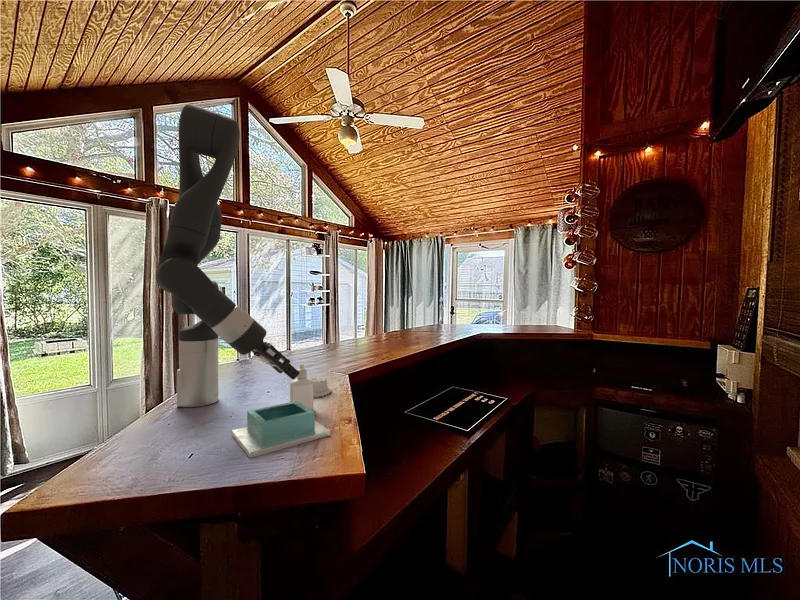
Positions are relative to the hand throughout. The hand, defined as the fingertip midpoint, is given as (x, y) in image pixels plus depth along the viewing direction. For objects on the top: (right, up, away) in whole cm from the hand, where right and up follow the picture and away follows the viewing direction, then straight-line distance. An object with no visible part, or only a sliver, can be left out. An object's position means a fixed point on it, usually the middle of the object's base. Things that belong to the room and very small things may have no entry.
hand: (289, 373), depth 84 cm
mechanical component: (+1, -10, +18) cm, 21 cm away
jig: (+2, -10, -12) cm, 16 cm away
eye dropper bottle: (+2, -10, +2) cm, 11 cm away
